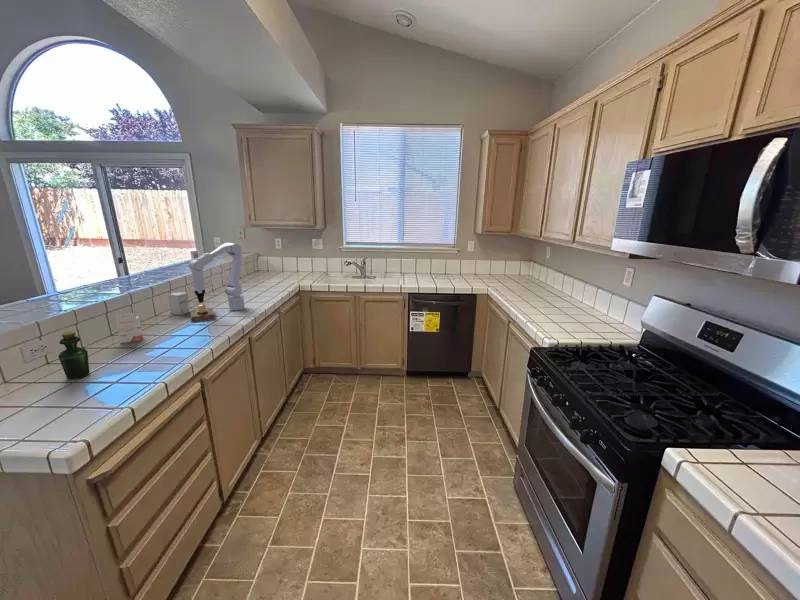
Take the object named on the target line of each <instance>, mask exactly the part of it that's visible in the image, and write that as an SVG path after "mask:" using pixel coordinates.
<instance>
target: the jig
mask: <svg viewBox="0 0 800 600" xmlns="http://www.w3.org/2000/svg"><path fill="white" fill-rule="evenodd" d="M206 313H207V314H201V315H199V311H198V308H195V309H191V310H190V318H191V322H192V321H195V322H200V321H199V320H203V321H209V320H208V319H211V320H215V319H216V316H215V311H214V309H213V307H206Z"/></svg>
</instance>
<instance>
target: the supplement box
mask: <svg viewBox="0 0 800 600" xmlns="http://www.w3.org/2000/svg"><path fill="white" fill-rule="evenodd" d="M167 298H168V303H169V309H170V314H171V313H173V314H172V315H178V314H181V315H183V314H186V313H189V312H190V307H189V299H188V298H189V296H188V293H187V292H182V291H181V292H178V291H177V292H174V293H170V294H168V295H167ZM188 311H189V312H188Z"/></svg>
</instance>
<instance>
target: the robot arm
mask: <svg viewBox="0 0 800 600" xmlns="http://www.w3.org/2000/svg"><path fill="white" fill-rule="evenodd" d="M224 253H227V254H228V255H230V257H231V258H232V262H231V268H230V269H231V270H230V276H229V281H228V282H227V283H226V287H225V288H224V294H226V296H227V301H228V307H227V309H228V311H229V312H232V311H234V310H235V311H243V309H244V310H245V299H244V296H243V295H242V293H243V291H242V284H240V277H241V268H242V263H243V261H242V260H243V253H242V247H241V246H240V244H239V243H233V242H224V243H222V244H221V245H220V246H219V247H217V248H215V250H213V251H211V252H210V253H208V252H206V253H205V252H204V253H202V255H201V256H199V257H196V259H193V260H192V259H191V261H190V262H189V264H188V268H189V269H190V270H191V271H190V273H191V277H192V283H193V287H191V290H194V294H195V296H196V297H197V300H198V303H199V304H201V303H204V298H205V294H206V285H205V277H204V269H205V267H206V266H207V265H209V264H210V263H212V262H213V261H214V259H215V258H217V257H219V256H221V255H222V254H224ZM235 311H234V312H235Z"/></svg>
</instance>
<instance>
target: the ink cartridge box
mask: <svg viewBox="0 0 800 600" xmlns="http://www.w3.org/2000/svg"><path fill="white" fill-rule="evenodd" d="M114 317H115V325H116V330H117V334H118V339H119V343H120V344H124V343H132V342H140V341H142V340H143V339H144V336H143V332H142V325H141V322H140V321H141V320H140V317H139V315H137V313H135V312H130V313H120V314H117V313H116V314H115V315H114Z"/></svg>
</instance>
